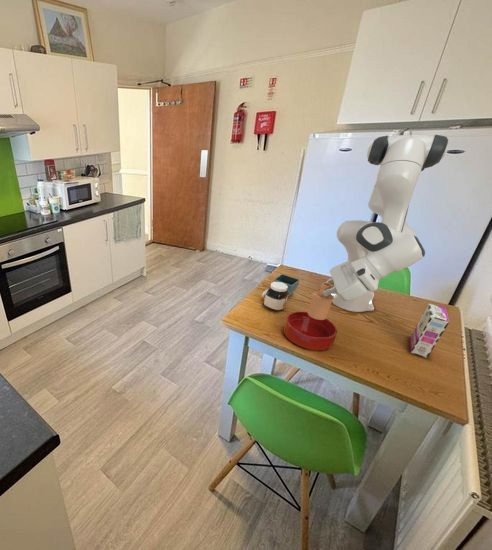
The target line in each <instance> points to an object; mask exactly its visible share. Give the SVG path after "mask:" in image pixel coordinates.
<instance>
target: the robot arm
mask: <svg viewBox="0 0 492 550" xmlns="http://www.w3.org/2000/svg"><path fill="white" fill-rule="evenodd" d="M449 148H450V147H449V139H448V137H447V136H445V135H441V134H434V135H432V134H422V133H421V134H419V133H418V134H417V133H412V134H399V135H398V134H397V135H383V136H378V137H377V138H375V139H374V140H373V142H372V143H371V144H370V145H369V147H368V149H367V152H366V157H367V158H366V159H367V162H368V163H369V164H371V165H374V166H379V169H378V172H377V174H376V180H375V183H374V186H373V188H372V192H371V194H370V197H369V200H368V203H367V206H368V209H369V210H370V211H371V212H373V213H374V214H376V215H378V216H380V218H381V221H380V222H379V221H377V222H376V221H368V220H362V219H361V220H360V219H359V220H356V219H353V220H345V221H344V222H342V223H341V224H340V225H339V227H337V230H336V238H337V240H338V242H339V243H340V244H342V246H343V247H344V249H345V251H346V253H347V260H346V261H345V262H342V263H340V264H338V265H336V266H335V265H334V266H333V267H331V268H330V269H329V273H330V275H331V277H330V278H329V279H327V280H326V281H325V283H329V284H331V285H332V286H331V289H325V290H323V291H322V292H323V294H324V295H325V296H328V295H330V294H331V295H333V300H332V303H331V304H333V305H334V306H336V307H338V308H340V309H342V310H346V311H349V312H353V313H354V312H356V313H363V312H374V311H375V307H374V304H373V300H374V296H375V293H374V292H375V291H377V290H378V289H379V288H378V287H379V283H380V280H383V279H384V278H386V277H387V276H388V275H390V274H392V273H397V272H400V271H402V270H404V269H406V268H408V267H410V266H412V265H414V264H416V263H418V262H419V261H421V260H422V259H424V258H425V255H426V251H425V248H424V247H423V245H422V243H421V241H420V240H419V238H418V237H417V233H416V231H415V230H414V229H413V228H412V227H411V226H410V225H409V224H408V222H407V221H406V219H407V215H408V210H409V207H410V204H411V200H412V197H413V195H414V192H415V188H416V186H417V183H418V181H419V178H420V175H421V172H423V171H424V170H425V169H428V168H432V167H434V166H435V165H438V164H439V163H440V162H441V160H443V158H445V156H446V155H447V154H448V151H449ZM321 286H322V284H320V287H321Z"/></svg>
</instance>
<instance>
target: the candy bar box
mask: <svg viewBox="0 0 492 550" xmlns="http://www.w3.org/2000/svg"><path fill="white" fill-rule="evenodd" d="M449 324H450V318H449V315H448V311H447V307H444V306H441V305H437V304H433V303H428V304H427V306H426V308H425V310H424V312H423V313H422V315H421V317H420V319H419V321H418V323H417V324H416V326H415V328H414V329H413V332H412V333H411V335H410V337H409V344H410V345H409V347H410V354H413V355H415V356H416V355H417V356H419V357H422V358H425V359H428V358H429V356H430V355H431V353H432V352H433V350H434V348H435V347H436V345H437V344H438V342H439V340H440V338H441V337H442V335H443V334H444V332H445V330H446V329H447V327H448V325H449Z"/></svg>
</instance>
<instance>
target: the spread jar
mask: <svg viewBox="0 0 492 550" xmlns="http://www.w3.org/2000/svg"><path fill="white" fill-rule="evenodd" d="M287 288H288V286H287V285H286V284H284V283H281V282H274V281H273V282H271V283H270V287H268V289H265V290H264V291H263V292H262V294H261V297H262V299H263V305H264V306H265V308H267V309H268V310H270V311H272V312H280V311H283V309H284V308H285V306H286V305H287V302H288V298H289V297H288V290H287Z"/></svg>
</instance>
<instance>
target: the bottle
mask: <svg viewBox="0 0 492 550" xmlns="http://www.w3.org/2000/svg"><path fill="white" fill-rule="evenodd" d="M321 285H322V286H321ZM321 285H320V290H315V291H314V292H313V294H312V297H311V300H310V303H309V307H308V310H307V312H308V315H309V316H310V317H312V318H314V319H318V320H324V319H327V317H328V314H329V312H330V309H331V306H332V304H333V303H332V300H333V295H331V294H330V295H328V296H325V295H324V294H323V292H322V291H323V290H325V289H331V288H332V287H333V285H331V284H329V283H326V282H322V284H321Z"/></svg>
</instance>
